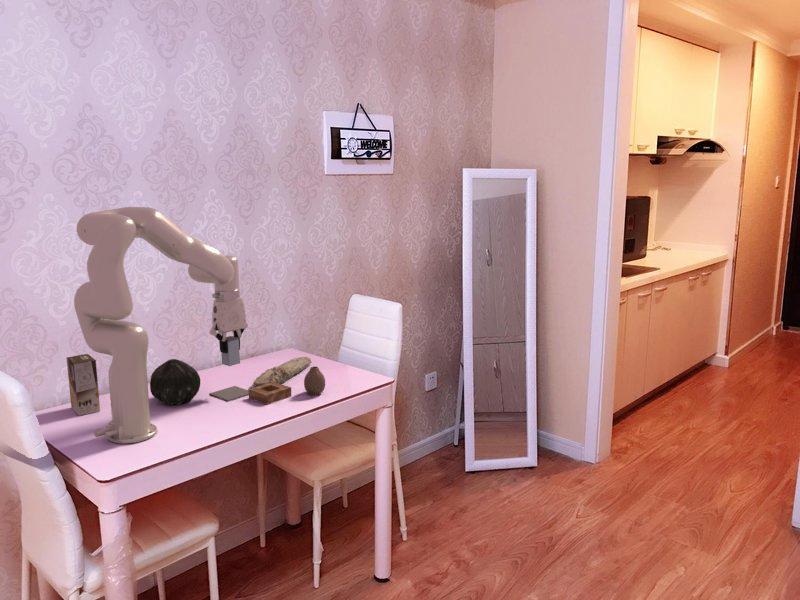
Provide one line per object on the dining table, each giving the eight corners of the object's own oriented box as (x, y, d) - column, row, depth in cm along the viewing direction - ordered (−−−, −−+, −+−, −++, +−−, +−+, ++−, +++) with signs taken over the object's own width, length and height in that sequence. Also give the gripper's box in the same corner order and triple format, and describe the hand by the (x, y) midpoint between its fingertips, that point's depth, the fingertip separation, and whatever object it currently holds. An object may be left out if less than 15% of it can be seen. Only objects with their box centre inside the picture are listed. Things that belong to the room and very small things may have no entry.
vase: (319, 397, 207) (319, 371, 206) (300, 395, 210) (299, 369, 208) (328, 391, 214) (328, 365, 212) (310, 388, 216) (309, 363, 214)
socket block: (267, 404, 201) (266, 395, 200) (248, 398, 206) (248, 389, 206) (291, 396, 209) (291, 387, 208) (273, 390, 214) (272, 381, 214)
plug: (229, 366, 206) (228, 340, 204) (222, 363, 208) (220, 338, 207) (240, 363, 209) (238, 337, 207) (232, 360, 211) (230, 335, 210)
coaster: (228, 401, 203) (228, 400, 203) (209, 394, 210) (209, 393, 210) (253, 393, 211) (253, 392, 211) (234, 386, 217) (234, 385, 217)
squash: (184, 372, 215) (158, 346, 204) (216, 381, 207) (191, 355, 197) (158, 408, 208) (130, 384, 197) (191, 419, 201) (163, 394, 190)
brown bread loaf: (318, 367, 245) (294, 366, 248) (317, 354, 244) (293, 353, 247) (272, 391, 212) (246, 390, 215) (272, 376, 211) (245, 374, 214)
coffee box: (101, 411, 194) (96, 359, 191) (78, 416, 190) (73, 363, 187) (92, 403, 201) (88, 353, 198) (70, 407, 197) (65, 356, 194)
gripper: (211, 300, 195) (215, 358, 199) (256, 292, 208) (258, 347, 212) (197, 297, 200) (200, 354, 204) (241, 289, 213) (244, 343, 216)
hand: (230, 350), depth 208 cm, fingers closed on plug, 4 cm apart
